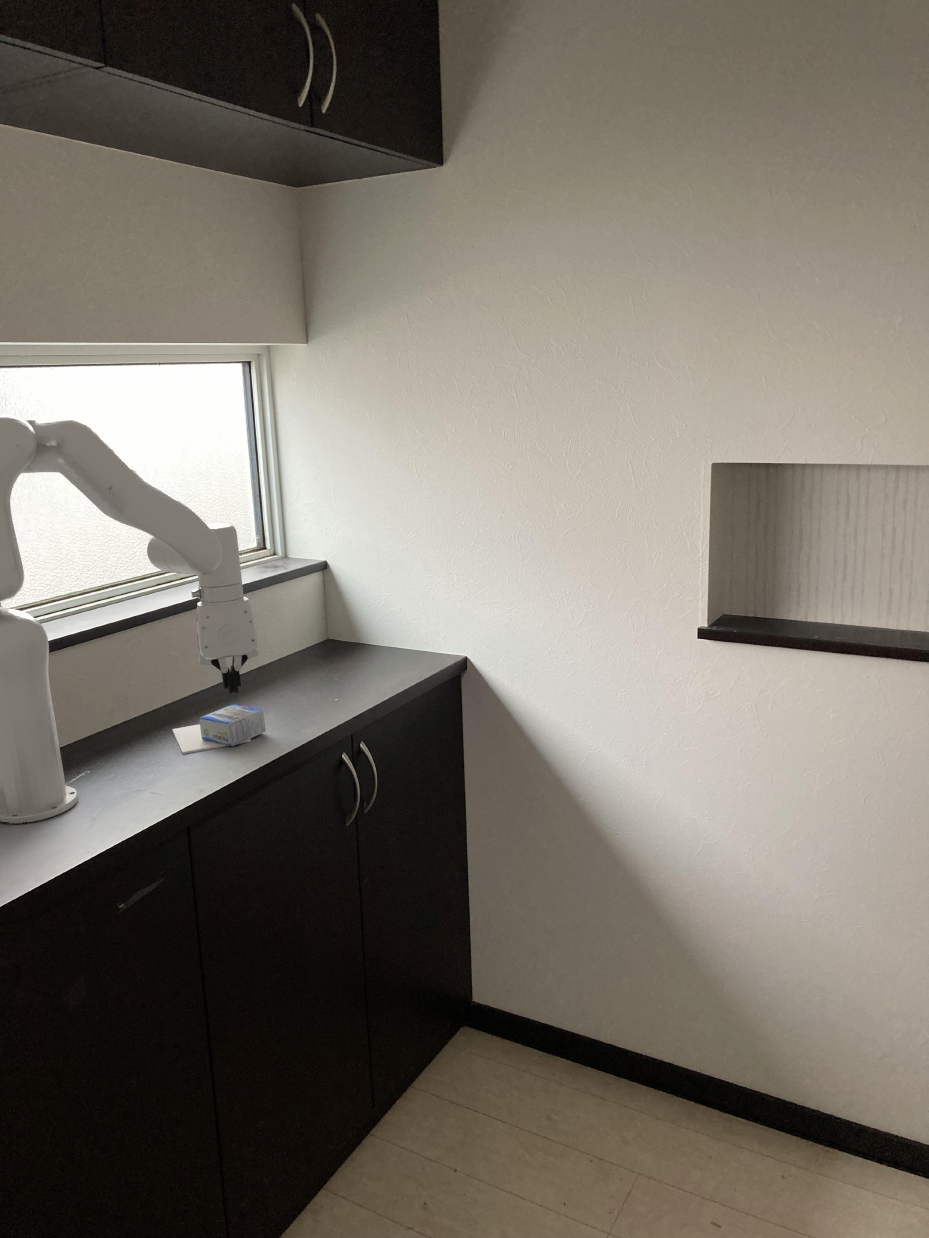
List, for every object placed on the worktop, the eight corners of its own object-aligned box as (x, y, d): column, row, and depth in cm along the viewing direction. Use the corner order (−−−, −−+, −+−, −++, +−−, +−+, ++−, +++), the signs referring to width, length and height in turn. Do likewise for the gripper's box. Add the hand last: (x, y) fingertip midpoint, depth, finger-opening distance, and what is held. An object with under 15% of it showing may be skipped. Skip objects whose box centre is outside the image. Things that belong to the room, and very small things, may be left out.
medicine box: (264, 708, 185) (229, 722, 178) (266, 732, 186) (231, 747, 179) (233, 703, 190) (198, 717, 183) (236, 726, 191) (200, 740, 184)
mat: (182, 754, 179) (182, 752, 179) (172, 731, 191) (172, 729, 191) (251, 741, 183) (250, 739, 183) (236, 719, 196) (236, 717, 196)
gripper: (181, 602, 177) (194, 703, 181) (267, 591, 182) (277, 689, 186) (176, 595, 184) (188, 692, 188) (259, 584, 189) (268, 679, 193)
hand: (232, 691), depth 187 cm, fingers closed
